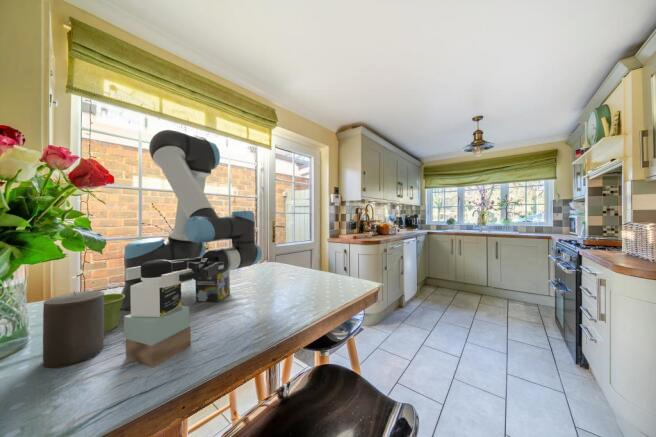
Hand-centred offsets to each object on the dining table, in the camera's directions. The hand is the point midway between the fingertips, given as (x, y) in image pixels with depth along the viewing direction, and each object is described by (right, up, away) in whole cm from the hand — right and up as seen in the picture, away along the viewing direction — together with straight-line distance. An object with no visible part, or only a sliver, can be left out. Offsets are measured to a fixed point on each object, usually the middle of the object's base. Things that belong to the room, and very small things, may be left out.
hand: (143, 277), depth 53 cm
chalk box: (-3, -18, +40) cm, 44 cm away
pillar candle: (-17, -19, +2) cm, 25 cm away
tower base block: (+1, -19, +3) cm, 19 cm away
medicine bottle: (+1, -9, +3) cm, 10 cm away
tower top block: (+1, -14, +3) cm, 14 cm away
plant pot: (-22, -18, +14) cm, 32 cm away
